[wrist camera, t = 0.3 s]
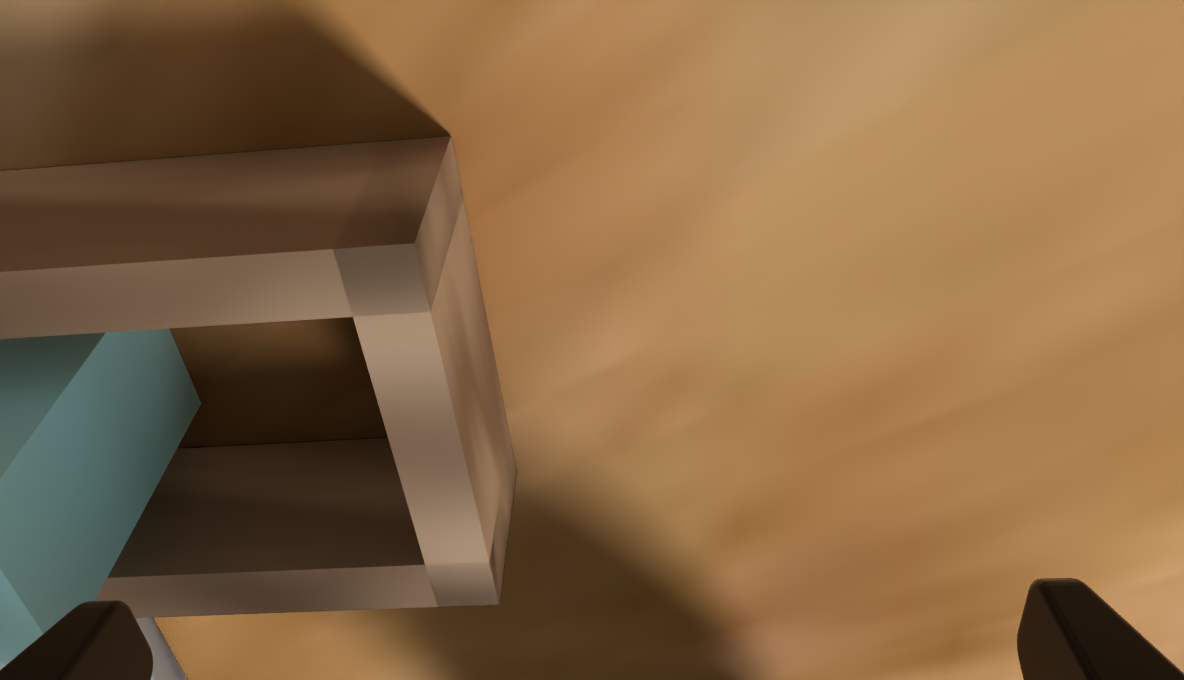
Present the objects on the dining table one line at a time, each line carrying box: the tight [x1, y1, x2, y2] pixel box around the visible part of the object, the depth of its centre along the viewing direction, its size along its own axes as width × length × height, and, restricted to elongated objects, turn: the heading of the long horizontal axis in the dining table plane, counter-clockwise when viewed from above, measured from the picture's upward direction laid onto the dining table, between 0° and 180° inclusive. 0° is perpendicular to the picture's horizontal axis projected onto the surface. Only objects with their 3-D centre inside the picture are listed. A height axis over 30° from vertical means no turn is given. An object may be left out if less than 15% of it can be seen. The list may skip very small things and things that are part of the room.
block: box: [0, 329, 201, 664], centre depth 22 cm, size 4×4×8 cm
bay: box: [0, 136, 517, 618], centre depth 23 cm, size 10×12×4 cm
